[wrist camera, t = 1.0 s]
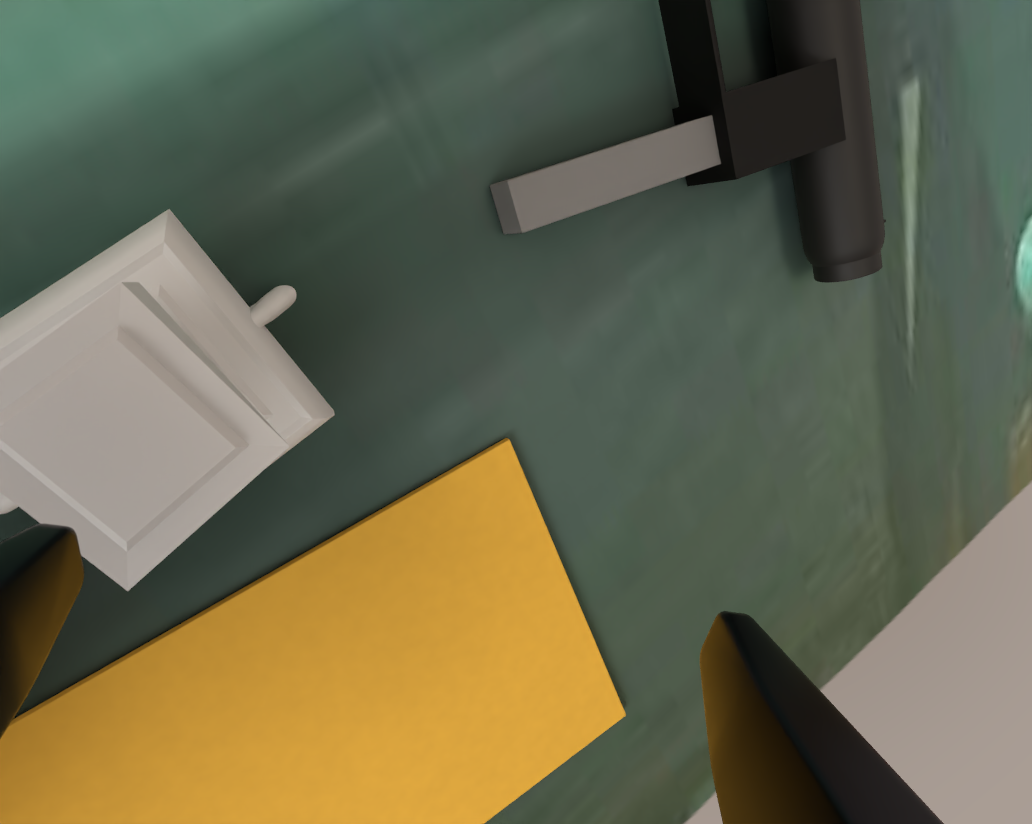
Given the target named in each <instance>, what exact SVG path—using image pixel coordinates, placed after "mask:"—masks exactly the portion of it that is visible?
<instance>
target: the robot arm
mask: <svg viewBox="0 0 1032 824" xmlns="http://www.w3.org/2000/svg"><path fill="white" fill-rule="evenodd" d="M83 579H84V567H83V562H82V557H81V552H80V548H79V543H78V538H77V534H76V532H75V531H74V529H73V528H71V527H68V526H61V525H53V524H46V523H43V524H37V525H34V526H32V527H30V528H28V529H26V530H24V531H22V532H20V533H18V534H16V535H14V536H12V537H10V538H8V539H6V540H4V541H2V542H1V543H0V739H1V737H2V736H3V734H4V733H5V731H6V730H7V728H8V726H9V725H10V723H11V722H12V720H13V718H14V717H15V715H16V714H17V712H18V710H19V709H20V707H21V705H22V704H23V702H24V700H25V699H26V697H27V695H28V694H29V692H30V690H31V688H32V686H33V684H34V682H35V681H36V679H37V677H38V675H39V673H40V671H41V669H42V667H43V665H44V663H45V661H46V658H47V656H48V654H49V652H50V650H51V648H52V646H53V644H54V642H55V640H56V638H57V636H58V634H59V632H60V630H61V628H62V626H63V624H64V622H65V620H66V618H67V616H68V614H69V612H70V610H71V608H72V605H73V603H74V601H75V599H76V597H77V595H78V593H79V591H80V589H81V587H82V584H83ZM700 669H701V679H702V688H703V698H704V707H705V717H706V726H707V736H708V745H709V754H710V761H711V768H712V773H713V779H714V784H715V789H716V793H717V798H718V803H719V807H720V812H721V816H722V821H723V824H944V823H943V822H942V821H941V820H940V819H939V818H938V817H937V816H936V815H935V814H934V813H933V812H932V811H931V810H930V808H929V807H928V806H927V805H926V804H925V803H924V802H923V801H922V800H921V799H920V798H919V797H918V796H917V795H916V793H915V792H914V791H913V790H912V789H911V788H910V787H909V786H908V785H907V784H906V783H905V782H904V780H903V779H902V778H901V777H900V776H899V775H898V774H897V773H896V772H895V771H894V770H893V769H892V768H891V767H890V765H888V763H887V762H886V761H885V760H884V759H883V758H882V757H881V756H880V755H879V754H878V753H877V751H876V750H875V749H874V748H873V747H872V746H871V745H870V744H869V743H868V742H867V741H866V740H865V739H864V738H863V736H861V734H860V733H859V732H858V731H857V730H856V729H855V728H854V727H853V726H852V725H851V724H850V722H848V720H847V719H846V718H845V717H844V716H843V715H842V714H841V713H840V712H839V711H838V710H837V709H836V707H835V706H834V705H833V704H832V703H831V702H830V701H829V700H828V699H827V698H826V697H825V696H824V695H823V693H822V692H821V691H820V690H819V689H818V688H817V687H816V686H815V685H814V684H813V683H812V682H811V681H810V680H809V678H808V677H807V676H806V675H805V674H804V673H803V672H802V671H801V670H800V669H799V668H798V667H797V666H796V664H795V663H794V662H793V661H792V660H791V659H790V658H789V657H788V656H787V655H786V654H785V653H784V652H783V651H782V649H781V648H780V647H779V646H778V645H777V644H776V643H775V642H774V641H773V640H772V639H771V638H770V637H769V635H768V634H767V633H766V632H765V631H764V630H763V629H762V628H761V627H760V626H759V625H758V624H757V623H756V622H755V620H754V619H753V618H751V617H750V616H749V615H747V614H743V613H735V612H728V611H723V612H720V613H719V614H718V615H717V616H716V618H715V620H714V622H713V625H712V627H711V629H710V631H709V633H708V635H707V637H706V640H705V642H704V644H703V646H702V649H701V653H700Z"/></svg>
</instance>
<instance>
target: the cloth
mask: <svg viewBox="0 0 1032 824" xmlns="http://www.w3.org/2000/svg"><path fill="white" fill-rule="evenodd" d="M624 716H626V714H625V711H624V709H623V706H622V704H621V702H620V699H619V697H618V695H617V692H616V690H615V688H614V685H613V683H612V680H611V678H610V676H609V673H608V671H607V669H606V666H605V664H604V662H603V659H602V657H601V654H600V652H599V650H598V647H597V645H596V643H595V640H594V638H593V636H592V633H591V631H590V628H589V626H588V624H587V621H586V619H585V617H584V614H583V612H582V610H581V607H580V605H579V602H578V600H577V598H576V595H575V593H574V591H573V588H572V586H571V584H570V581H569V579H568V577H567V574H566V572H565V569H564V567H563V565H562V562H561V560H560V558H559V555H558V553H557V551H556V548H555V546H554V543H553V541H552V539H551V536H550V534H549V532H548V529H547V527H546V525H545V522H544V520H543V517H542V515H541V513H540V510H539V508H538V506H537V503H536V501H535V499H534V496H533V494H532V491H531V489H530V487H529V484H528V482H527V480H526V477H525V475H524V473H523V470H522V468H521V465H520V463H519V461H518V458H517V456H516V454H515V451H514V449H513V447H512V444H511V442H510V440H509V439H508V438H505V439H503V440H501V441H500V442H498V443H496V444H494V445H493V446H491V447H489V448H487V449H486V450H484V451H482V452H480V453H479V454H477V455H475V456H473V457H472V458H470V459H468V460H466V461H465V462H463V463H461V464H459V465H458V466H456V467H454V468H452V469H451V470H449V471H447V472H445V473H444V474H442V475H440V476H438V477H437V478H435V479H433V480H431V481H430V482H428V483H426V484H424V485H423V486H421V487H419V488H417V489H416V490H414V491H412V492H410V493H409V494H407V495H405V496H403V497H402V498H400V499H398V500H396V501H395V502H393V503H391V504H389V505H388V506H386V507H384V508H382V509H381V510H379V511H377V512H375V513H374V514H372V515H370V516H368V517H367V518H365V519H363V520H361V521H360V522H358V523H356V524H354V525H353V526H351V527H349V528H347V529H346V530H344V531H342V532H340V533H339V534H337V535H335V536H333V537H332V538H330V539H328V540H326V541H325V542H323V543H321V544H319V545H318V546H316V547H314V548H312V549H311V550H309V551H307V552H305V553H304V554H302V555H300V556H298V557H297V558H295V559H293V560H291V561H290V562H288V563H286V564H284V565H283V566H281V567H279V568H277V569H276V570H274V571H272V572H270V573H269V574H267V575H265V576H263V577H262V578H260V579H258V580H256V581H255V582H253V583H251V584H249V585H248V586H246V587H244V588H242V589H241V590H239V591H237V592H235V593H234V594H232V595H230V596H228V597H227V598H225V599H223V600H221V601H220V602H218V603H216V604H214V605H213V606H211V607H209V608H207V609H206V610H204V611H202V612H200V613H199V614H197V615H195V616H193V617H192V618H190V619H188V620H186V621H185V622H183V623H181V624H179V625H178V626H176V627H174V628H172V629H171V630H169V631H167V632H165V633H164V634H162V635H160V636H158V637H157V638H155V639H153V640H151V641H150V642H148V643H146V644H144V645H143V646H141V647H139V648H137V649H136V650H134V651H132V652H130V653H129V654H127V655H125V656H123V657H122V658H120V659H118V660H116V661H115V662H113V663H111V664H109V665H108V666H106V667H104V668H102V669H101V670H99V671H97V672H95V673H94V674H92V675H90V676H88V677H86V678H85V679H83V680H81V681H79V682H78V683H76V684H74V685H72V686H71V687H69V688H67V689H65V690H64V691H62V692H60V693H58V694H57V695H55V696H53V697H51V698H50V699H48V700H46V701H44V702H43V703H41V704H39V705H37V706H36V707H34V708H32V709H30V710H29V711H27V712H25V713H23V714H22V715H20V716H18V717H16V718H15V719H13V720H12V722H11V723H10V725H9V726H8V728H7V730H6V731H5V733H4V734H3V736H2V737H1V739H0V824H484V823H485V822H487V821H488V820H489V819H490V818H492V817H493V816H494V815H496V814H497V813H498V812H500V811H501V810H502V809H504V808H505V807H506V806H508V805H509V804H510V803H511V802H513V801H514V800H515V799H517V798H518V797H519V796H521V795H522V794H523V793H525V792H526V791H527V790H528V789H530V788H531V787H532V786H534V785H535V784H536V783H538V782H539V781H540V780H542V779H543V778H544V777H546V776H547V775H548V774H549V773H551V772H552V771H553V770H555V769H556V768H557V767H559V766H560V765H561V764H563V763H564V762H565V761H567V760H568V759H569V758H570V757H572V756H573V755H574V754H576V753H577V752H578V751H580V750H581V749H582V748H584V747H585V746H586V745H588V744H589V743H590V742H591V741H593V740H594V739H595V738H597V737H598V736H599V735H601V734H602V733H603V732H605V731H606V730H607V729H609V728H610V727H611V726H612V725H614V724H615V723H616V722H618V721H619V720H620V719H622V718H623V717H624Z"/></svg>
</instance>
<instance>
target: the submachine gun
mask: <svg viewBox="0 0 1032 824" xmlns="http://www.w3.org/2000/svg"><path fill="white" fill-rule="evenodd" d="M766 1H767V8H768V15H769V21H770V28H771V35H772V42H773V48H774V55H775V62H776V68H777V75H778V76H776V77H773V78H770V79H767V80H763V81H760V82H757V83H754V84H751V85H747V86H744V87H741V88H738V89H735V90H732V91H728V92H726V89H725V83H724V77H723V72H722V66H721V60H720V54H719V48H718V43H717V37H716V31H715V25H714V20H713V14H712V8H711V2H710V0H659V5H660V11H661V16H662V21H663V26H664V31H665V36H666V41H667V46H668V51H669V56H670V62H671V67H672V72H673V77H674V82H675V87H676V92H677V97H678V102H679V107H678V108H675V109H672V110H673V115H674V120H675V126H672V127H669V128H666V129H663V130H660V131H657V132H653V133H650V134H647V135H644V136H641V137H638V138H635V139H632V140H629V141H626V142H622V143H619V144H616V145H613V146H610V147H607V148H604V149H601V150H598V151H594V152H591V153H588V154H585V155H582V156H579V157H576V158H573V159H570V160H567V161H563V162H560V163H557V164H554V165H551V166H548V167H545V168H542V169H539V170H536V171H532V172H529V173H526V174H523V175H520V176H517V177H514V178H511V179H508V180H504V181H501V182H498V183H495V184H492V185H490V189H491V192H492V196H493V199H494V202H495V206H496V209H497V213H498V216H499V219H500V223H501V226H502V230H503V233H504V234H514V233H524V232H527V231H529V230H532V229H535V228H538V227H541V226H544V225H547V224H550V223H552V222H555V221H558V220H561V219H564V218H567V217H570V216H573V215H575V214H578V213H581V212H584V211H587V210H590V209H593V208H595V207H598V206H601V205H604V204H607V203H610V202H613V201H616V200H618V199H621V198H624V197H627V196H630V195H633V194H636V193H639V192H641V191H644V190H647V189H650V188H653V187H656V186H659V185H661V184H664V183H667V182H670V181H673V180H676V179H679V178H682V177H684V176H686V180H687V185H688V186H692V185H699V184H706V183H714V182H721V181H728V180H735V179H739V178H741V177H744V176H747V175H750V174H753V173H755V172H758V171H761V170H764V169H766V168H769V167H772V166H775V165H778V164H780V163H783V162H786V161H789V160H790V162H791V169H792V176H793V183H794V189H795V196H796V203H797V209H798V216H799V223H800V230H801V236H802V243H803V249H804V253H805V255H806V257H807V259H808V260H809V262H810V263H811V264H812V266H813V273H814V279H815V280H816V281H819V282H840V281H847V280H852V279H857V278H860V277H864V276H867V275H870V274H873V273H875V272H877V271H879V270H880V269H881V268H882V259H881V248H882V246H883V243H884V237H885V229H884V223H885V222H886V220H883V211H882V201H881V192H880V183H879V174H878V165H877V155H876V146H875V137H874V128H873V118H872V109H871V100H870V91H869V81H868V72H867V63H866V54H865V44H864V35H863V26H862V17H861V7H860V0H766Z"/></svg>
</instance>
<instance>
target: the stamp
mask: <svg viewBox="0 0 1032 824" xmlns="http://www.w3.org/2000/svg"><path fill="white" fill-rule="evenodd" d="M295 300H296V291H295V289H294V288H293V287H291V286H288V285H282V286H278V287H275V288H274V289H272V290H271V291H270V292H268V293H267V294H266V295H265V296H263V297H262V298H261V299H260V300H259V301H258V302H257V303H255V304H254V305H252V306H250V307H249V306H248V305H247V304H246V302H245V301H244V300H243V299H242V297H241V296H240V295H239V294H238V293H237V291H236V290H235V289H234V288H233V286H232V285H231V284H230V283H229V282H228V280H227V279H226V278H225V277H224V275H223V274H222V273H221V272H220V271H219V269H218V268H217V267H216V266H215V264H214V263H213V262H212V261H211V259H210V258H209V257H208V256H207V255H206V253H205V252H204V251H203V250H202V248H201V247H200V246H199V245H198V244H197V242H196V241H195V240H194V239H193V237H192V236H191V235H190V234H189V233H188V231H187V230H186V229H185V228H184V226H183V225H182V224H181V223H180V221H179V220H178V219H177V218H176V217H175V215H174V214H173V213H172V212H171V210H170V209H168V210H166V211H165V212H163V213H162V214H160V215H159V216H157V217H156V218H154V219H153V220H151V221H150V222H148V223H146V224H145V225H143V226H142V227H140V228H139V229H137V230H136V231H134V232H133V233H131V234H130V235H128V236H126V237H125V238H123V239H122V240H120V241H119V242H117V243H116V244H114V245H113V246H111V247H109V248H108V249H106V250H105V251H103V252H102V253H100V254H99V255H97V256H96V257H94V258H93V259H91V260H89V261H88V262H86V263H85V264H83V265H82V266H80V267H79V268H77V269H76V270H74V271H72V272H71V273H69V274H68V275H66V276H65V277H63V278H62V279H60V280H59V281H57V282H56V283H54V284H52V285H51V286H49V287H48V288H46V289H45V290H43V291H42V292H40V293H39V294H37V295H36V296H34V297H32V298H31V299H29V300H28V301H26V302H25V303H23V304H22V305H20V306H19V307H17V308H15V309H14V310H12V311H11V312H9V313H8V314H6V315H5V316H3V317H2V318H0V514H5V513H8V512H10V511H12V510H14V509H15V508H17V507H20V508H21V509H23V510H24V511H25V512H26V513H28V514H29V515H30V516H32V517H33V518H34V519H35V520H37V521H38V522H39V523H41V524H43V523H46V524H53V525H61V526H68V527H71V528H73V529H74V531H75V532H76V534H77V538H78V543H79V548H80V552H81V555H82V556H83V557H84V558H86V559H87V560H88V561H89V562H91V563H92V564H93V565H95V566H96V567H97V568H98V569H100V570H101V571H102V572H104V573H105V574H106V575H107V576H109V577H110V578H111V579H113V580H114V581H115V582H116V583H118V584H119V585H120V586H122V587H123V588H124V589H125V590H127V591H129V590H130V589H131V588H132V587H133V586H134V585H135V584H136V583H138V582H139V581H140V580H141V579H142V578H143V577H144V576H145V575H147V574H148V573H149V572H150V571H151V570H152V569H153V568H154V567H155V566H157V565H158V564H159V563H160V562H161V561H162V560H163V559H164V558H166V557H167V556H168V555H169V554H170V553H171V552H172V551H173V550H175V549H176V548H177V547H178V546H179V545H180V544H181V543H182V542H183V541H185V540H186V539H187V538H188V537H189V536H190V535H191V534H192V533H194V532H195V531H196V530H197V529H198V528H199V527H200V526H201V525H203V524H204V523H205V522H206V521H207V520H208V519H209V518H210V517H212V516H213V515H214V514H215V513H216V512H217V511H218V510H219V509H220V508H222V507H223V506H224V505H225V504H226V503H227V502H228V501H229V500H231V499H232V498H233V497H234V496H235V495H236V494H237V493H238V492H240V491H241V490H242V489H243V488H244V487H245V486H246V485H247V484H248V483H250V482H251V481H252V480H253V479H254V478H255V477H256V476H257V475H259V474H260V473H261V472H262V471H263V470H264V469H266V468H267V467H268V466H269V465H271V464H272V463H273V462H275V461H276V460H277V459H278V458H280V457H281V456H282V455H284V454H285V453H286V452H287V451H289V450H290V449H291V448H293V447H294V446H295V445H297V444H298V443H299V442H300V441H302V440H303V439H304V438H306V437H307V436H308V435H309V434H311V433H312V432H313V431H315V430H316V429H317V428H318V427H320V426H321V425H322V424H324V423H325V422H326V421H327V420H329V419H330V418H331V417H333V416H334V415H335V414H334V410H333V409H332V408H331V407H330V405H329V404H328V403H327V402H326V400H325V399H324V398H323V397H322V396H321V394H320V393H319V392H318V391H317V389H316V388H315V387H314V386H313V384H312V383H311V382H310V381H309V380H308V378H307V377H306V376H305V375H304V373H303V372H302V371H301V370H300V369H299V367H298V366H297V365H296V364H295V362H294V361H293V360H292V359H291V358H290V356H289V355H288V354H287V353H286V351H285V350H284V349H283V348H282V346H281V345H280V344H279V343H278V342H277V340H276V339H275V338H274V337H273V335H272V334H271V333H270V332H269V331H268V329H267V328H266V327H265V324H267V323H269V322H271V321H272V320H274V319H275V318H277V317H278V316H279V315H280V314H281V313H283V312H284V311H285V310H286V309H288V308H289V307H290V306H291V305H292V304H293V303H294V302H295Z"/></svg>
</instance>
